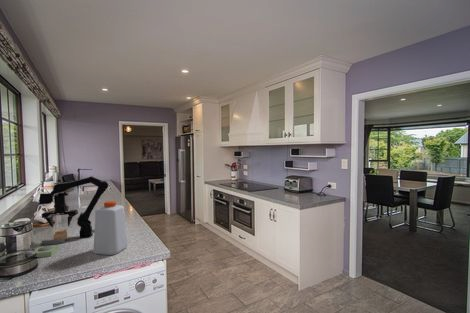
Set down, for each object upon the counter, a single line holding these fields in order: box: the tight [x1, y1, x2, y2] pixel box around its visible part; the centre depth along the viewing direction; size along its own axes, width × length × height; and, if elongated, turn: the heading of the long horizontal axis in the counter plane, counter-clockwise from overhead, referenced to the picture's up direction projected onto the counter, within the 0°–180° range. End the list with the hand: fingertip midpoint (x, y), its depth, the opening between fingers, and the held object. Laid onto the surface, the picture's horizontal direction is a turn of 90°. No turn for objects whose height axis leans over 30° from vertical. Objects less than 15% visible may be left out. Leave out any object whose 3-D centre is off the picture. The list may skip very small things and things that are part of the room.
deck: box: [33, 239, 66, 258], centre depth 148 cm, size 13×21×3 cm, turn 15°
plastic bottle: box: [93, 200, 129, 256], centre depth 147 cm, size 15×15×28 cm
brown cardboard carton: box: [53, 228, 69, 240], centre depth 164 cm, size 5×8×6 cm, turn 15°
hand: (60, 226), depth 164 cm, fingers open, 9 cm apart
